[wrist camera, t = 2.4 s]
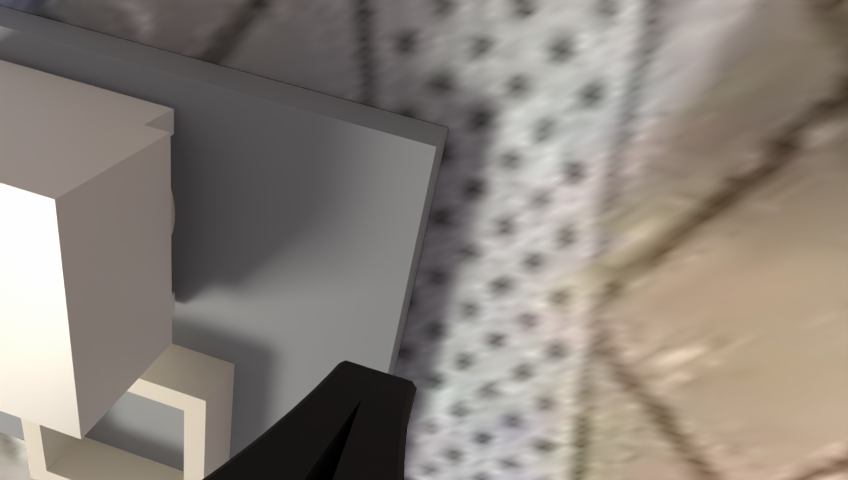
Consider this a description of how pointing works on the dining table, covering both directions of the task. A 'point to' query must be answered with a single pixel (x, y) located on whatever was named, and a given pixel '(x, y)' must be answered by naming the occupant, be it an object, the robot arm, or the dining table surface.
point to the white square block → (80, 246)
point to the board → (246, 251)
